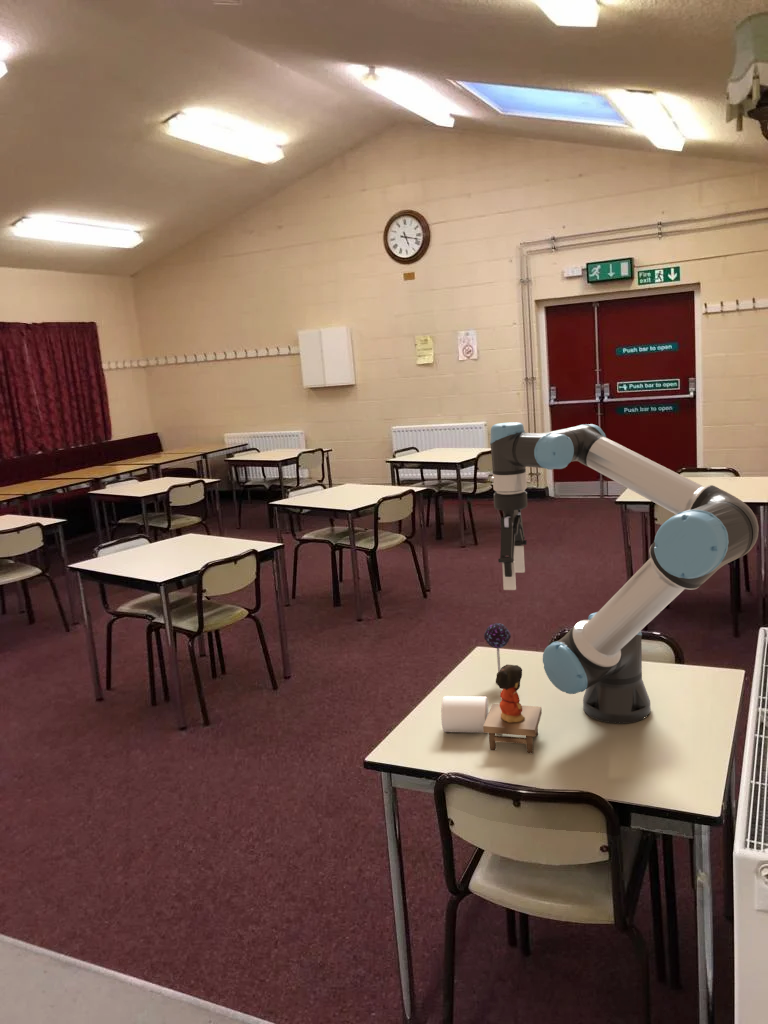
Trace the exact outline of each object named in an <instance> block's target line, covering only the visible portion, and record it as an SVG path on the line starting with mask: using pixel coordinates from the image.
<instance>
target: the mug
mask: <svg viewBox="0 0 768 1024" xmlns="http://www.w3.org/2000/svg"><path fill="white" fill-rule="evenodd" d="M440 708H441V711H440V713H441V716H440V717H441V728H442V731H443V733H478V734H479V733H481V734H482V733H484V730H483V726H484V723H485V721H486V718H487V716H488V713H489V711H490V709H489V701H488V697H487V696H485V695H484V696H480V695H478V696H476V695H475V696H474V695H473V696H472V695H471V696H470V695H469V696H466V695H465V696H464V695H444V696H443V697H442V700H441V707H440ZM484 734H485V733H484Z"/></svg>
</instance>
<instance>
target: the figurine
mask: <svg viewBox="0 0 768 1024" xmlns="http://www.w3.org/2000/svg"><path fill="white" fill-rule="evenodd" d="M522 676H523V669H522V667H521V666H519V665H518V664H517V665H515V664H505V665H503V666H502V667H500V671H499V672H498V671H497V673H496V678H495V684H496V685H497V686H498V688H499V689H501V692H500V698H501V701H500V702H499V704H500V708H501V711H502V713H501V719H503V720H504V721H507V722H508V723H512V722H520V721H522V720H524V719H525V717H524V716H523V715H522V714H521V712H522V706H523V705H522V704H521V703H520V701H521V699H520V695H519V693H518V692H517V691H519V689H520V687H521V680H522ZM521 705H522V706H521Z"/></svg>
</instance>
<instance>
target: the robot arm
mask: <svg viewBox="0 0 768 1024" xmlns="http://www.w3.org/2000/svg"><path fill="white" fill-rule="evenodd" d="M489 445H490V453H491V468H492V469H491V471H492V476H491V477H490V479H489V480H490V482H493V484H492V487H493V488H492V489H493V491H494V493H493V507H494V509H495V510H498V511H503V516H502V517H501V518H500V552H499V553H500V554H499V558H497V560H498V563H501V565H502V566H501V567H502V585H503V586H502V587H503V591H516V590H517V583H516V582H517V580H516V579H517V578H516V577H517V576H516V573H520V574H521V573H525V572H526V567H525V566H526V565H525V547H524V545H525V546H526V545H527V542H528V541H527V539H526V536H525V532H524V525H523V517H522V510H524V509H526V508H527V507H528V492H527V490H526V489H527V488H528V486H527V485H528V484H527V483H528V482H527V468H537V469H546V470H551V471H552V470H563V469H566V467H568V465H569V464H570V463H571V462H579V463H580V464H581V465H584V466H585V467H588V468H590V469H592V470H594V471H596V472H597V473H599V474H602V475H603V476H605V477H606V478H608V479H610V480H612V481H614V482H616V483H617V484H619V485H621V486H623V487H625V488H627V489H629V490H630V491H632V492H634V493H636V494H637V495H639V496H641V497H643V498H645V499H647V500H649V501H651V502H652V503H655V504H656V505H658V506H660V507H661V508H663V509H665V510H667V511H669V512H670V513H672V514H674V515H672V516H671V517H670V518H668V519H667V520H665V521H664V522H663V523H662V524H661V525H660V526H659V528H658V529H657V531H656V534H655V536H654V540H653V542H652V544H651V545H650V547H649V550H648V552H649V558H648V560H647V561H646V562H645V563H643V565H642V566H641V567H640V568H639V569H638V570H636V572H635V573H634V574H633V575H632V576H631V577H630V578H629V579H628V580H627V582H625V583H624V584H623V586H622V587H621V588H619V590H618V591H616V593H615V594H613V596H611V598H610V599H609V600H608V601H607V602H606V603H605V604H604V605H603V606H602V607H601V608H600V609H599V610H598V611H596V612H593V613H590V614H589V615H588V617H587V619H583V620H582V619H581V620H580V621H578V622H577V623H575V625H574V626H573V627H572V628H571V629H570V630H569V631H568V632H567V633H566V634H565V635H564V636H563V637H561V638H560V639H559V640H556V641H553V642H551V643H550V644H549V645H547V646H546V647H545V649H544V651H543V653H542V663H543V670H544V672H545V675H546V677H547V678H548V680H549V681H550V683H551V684H552V685H553V686H554V687H555V688H556V689H558V690H559V691H561V692H563V693H565V694H569V695H574V694H575V695H576V694H578V693H582V692H584V694H583V697H582V698H583V699H582V704H583V705H582V706H583V711H584V712H585V714H586V715H587V716H589V717H591V718H592V719H593V720H594V719H595V720H596V721H600V722H603V723H604V722H605V723H610V724H631V723H636V722H640V721H642V720H644V719H645V718H644V717H646V716H647V715H648V714H649V713H650V714H651V711H650V710H651V699H650V697H649V694H648V692H647V689H646V685H645V683H644V681H643V673H642V672H643V661H642V659H643V656H642V655H643V654H642V650H643V649H642V648H643V647H642V636H643V633H642V630H643V629H644V628H645V627H646V626H647V625H648V624H649V623H651V622H652V621H653V620H654V619H655V618H656V617H657V616H658V615H659V614H660V613H662V611H663V610H664V609H665V608H666V607H667V606H668V605H670V603H671V602H673V601H675V599H676V598H677V597H678V596H679V595H680V594H681V593H682V592H683V591H685V590H691V591H692V590H697V589H699V588H700V587H701V586H702V585H703V584H704V583H705V582H706V581H708V580H709V579H710V578H711V577H712V576H713V575H714V574H716V572H717V571H718V570H720V569H721V568H722V567H723V566H725V565H727V564H729V563H731V562H733V561H735V560H737V559H740V558H742V557H744V556H745V555H747V554H748V553H749V552H750V551H751V550H752V549H753V547H754V546H755V544H756V543H757V540H758V537H759V522H758V519H757V516H756V515H755V513H754V512H753V510H752V509H751V508H750V506H749V505H748V504H747V503H745V502H744V501H742V500H741V499H739V498H738V497H736V496H734V495H733V494H731V493H729V492H727V491H725V490H724V489H721V488H719V487H717V486H715V485H714V484H709V485H706V486H703V485H701V484H700V483H698V482H696V481H694V480H691V479H690V478H688V477H686V476H684V475H681V474H679V473H678V472H675V471H674V470H672V469H670V468H667V467H666V466H664V465H661V463H657V462H656V461H654V460H651V459H650V458H648V457H645V456H644V455H642V454H640V453H638V452H636V451H634V450H631V449H630V448H627V447H626V446H624V445H622V444H620V443H618V442H616V441H614V440H611V439H610V438H608V437H607V435H606V433H605V432H604V431H603V429H602V428H601V427H600V426H598V425H596V424H593V423H590V424H589V423H588V424H587V423H585V424H584V423H583V424H579V425H576V426H571V427H567V428H561V429H556V430H552V431H551V430H550V431H545V432H526V430H525V427H524V424H523V423H522V422H516V421H514V422H513V421H510V422H509V421H508V422H500V423H495V424H493V425H492V426H491V427H490V441H489ZM526 467H527V468H526ZM650 714H649V715H650ZM649 715H648V716H649ZM648 716H647V717H648ZM647 717H646V718H647ZM643 718H644V719H643ZM641 719H642V720H641Z"/></svg>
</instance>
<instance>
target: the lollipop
mask: <svg viewBox="0 0 768 1024" xmlns="http://www.w3.org/2000/svg"><path fill="white" fill-rule="evenodd" d="M511 637H512V636H511V632H510V630H509V628H508V627H507V626H506V625H504V624H503V623H499V622H494V623H491V624H490V625H488V626H487V627H486V629H485V632H484V633H483V638H484V640H485V641H486V643H487V645H488V646H490V647H491V648H495V649H496V657H497V659H496V660H497V673H498V672H499V671H500V669H501V657H500V656H501V655H500V654H501V653H500V649H502V648H503V647H505V646H507V644H508V643H509V641H510V639H511Z"/></svg>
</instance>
